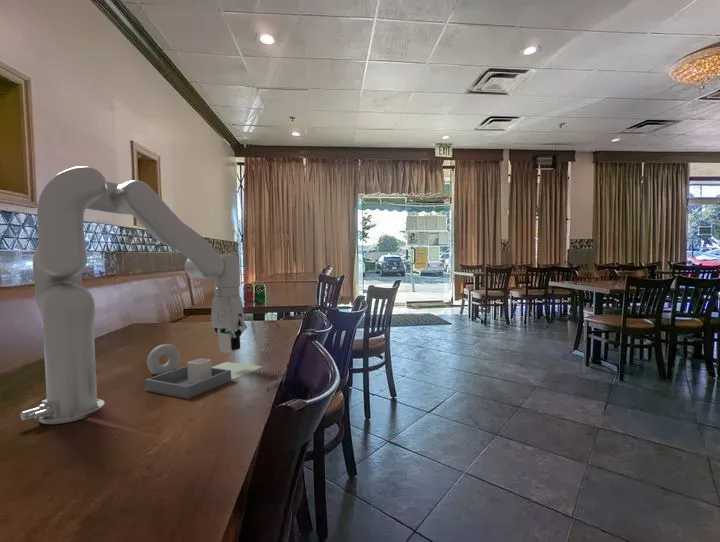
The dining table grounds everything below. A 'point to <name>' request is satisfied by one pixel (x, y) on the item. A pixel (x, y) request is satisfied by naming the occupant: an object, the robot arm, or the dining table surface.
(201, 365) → the grey label box
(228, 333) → the teal label box
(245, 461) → the dining table surface
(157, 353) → the donut
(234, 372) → the sage board
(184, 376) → the parts bin
